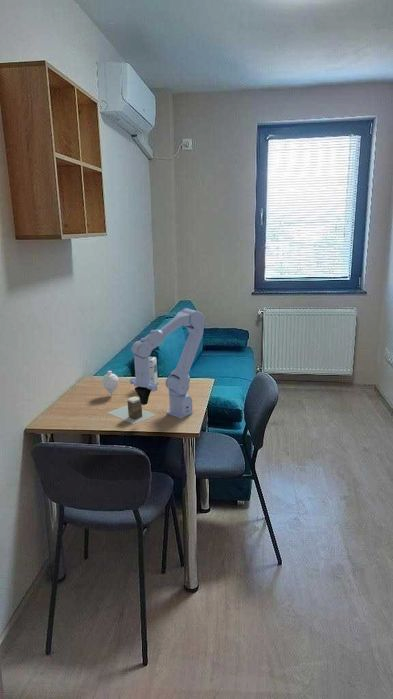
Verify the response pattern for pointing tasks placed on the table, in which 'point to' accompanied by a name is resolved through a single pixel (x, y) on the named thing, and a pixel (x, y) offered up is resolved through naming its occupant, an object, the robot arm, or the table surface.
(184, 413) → the robot arm
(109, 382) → the spinning top
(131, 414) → the brown and white block
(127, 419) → the sage mat
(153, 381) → the syrup box
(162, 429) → the table surface
